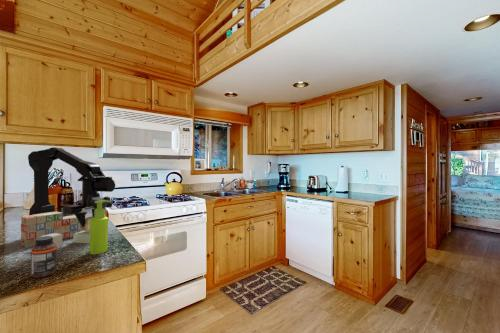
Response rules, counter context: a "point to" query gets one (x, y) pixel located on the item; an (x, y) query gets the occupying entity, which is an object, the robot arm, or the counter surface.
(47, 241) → the supplement bottle
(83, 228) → the maple cube
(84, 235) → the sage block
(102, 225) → the soap dispenser
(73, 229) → the stack of blocks
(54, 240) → the grey cube
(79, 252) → the counter surface
